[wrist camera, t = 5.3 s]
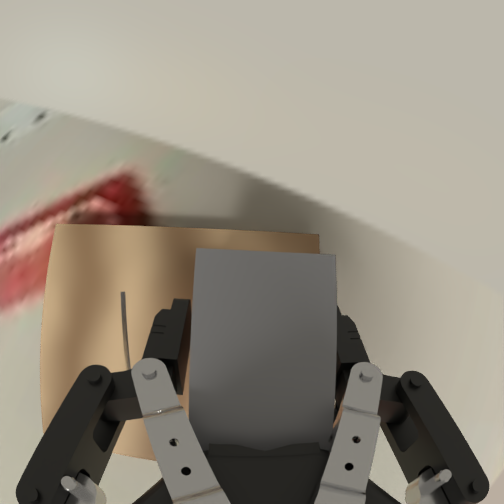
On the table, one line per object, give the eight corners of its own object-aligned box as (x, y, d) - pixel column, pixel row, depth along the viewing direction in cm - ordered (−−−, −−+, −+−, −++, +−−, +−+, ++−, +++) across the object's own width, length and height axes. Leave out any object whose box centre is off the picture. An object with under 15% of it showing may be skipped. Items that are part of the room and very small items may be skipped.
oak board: (54, 428, 15) (43, 433, 14) (66, 231, 19) (56, 223, 18) (307, 455, 16) (313, 464, 15) (312, 242, 20) (318, 234, 19)
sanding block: (195, 419, 15) (170, 479, 7) (200, 279, 17) (179, 231, 10) (296, 421, 16) (345, 476, 8) (300, 283, 18) (351, 241, 10)
